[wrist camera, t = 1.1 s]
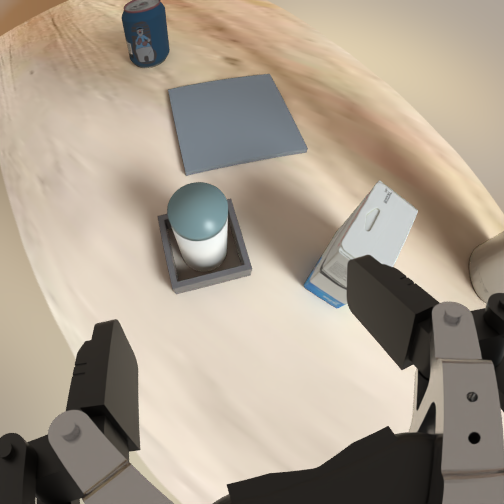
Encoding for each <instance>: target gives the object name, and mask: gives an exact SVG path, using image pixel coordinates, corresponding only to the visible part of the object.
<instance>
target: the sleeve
mask: <svg viewBox="0 0 504 504" xmlns="http://www.w3.org/2000/svg"><path fill="white" fill-rule="evenodd" d="M227 203H228V221H229V224H230V227H231V231H232V234H233V238H234V241H235V245H236V248H237V251H238V255H239V258H240V262H241V265H242V266H238V267H234V268H230V269H226V270H222V271H218V272H214V273H210V274H206V275H202V276H198V277H194V278H190V279H186V280H183V281H179V279H178V275H177V271H176V266H175V262H174V257H173V253H172V248H171V243H170V238H169V234H168V229H170V228H172V227H171V224H170V221H169V218H168V214H165V215H161V216H158V221H159V226H160V232H161V237H162V242H163V247H164V252H165V256H166V261H167V266H168V270H169V275H170V280H171V284H172V288H173V290H174V292H175V293H176V294H179V293H183V292H187V291H191V290H195V289H199V288H203V287H207V286H211V285H215V284H219V283H222V282H226V281H230V280H234V279H238V278H242V277H246V276H249V275H251V271H252V266H251V263H250V260H249V257H248V253H247V250H246V247H245V243H244V240H243V237H242V233H241V230H240V227H239V224H238V220H237V217H236V214H235V210H234V207H233V204H232V200H231V199H227Z"/></svg>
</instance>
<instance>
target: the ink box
mask: <svg viewBox="0 0 504 504" xmlns="http://www.w3.org/2000/svg"><path fill="white" fill-rule="evenodd" d="M417 212H418V210H417V209H416V208H415V207H413V206H412V205H411V204H410V203H408V202H407V201H406V200H405V199H403V198H402V197H401V196H400V195H398V194H397V193H396V192H394V191H393V190H392V189H390V188H389V187H388V186H386V185H385V184H383V183H382V182H381V181H380V180H379V181H378V182H377V183H376V184H375V186H374V187H373V188H372V190H371V191H370V192H369V193H368V194H367V196H366V197H365V198H364V199H363V201H362V202H361V203H360V204H359V206H358V207H357V208H356V209H355V210H354V212H353V213H352V214H351V215H350V216H349V218H348V219H347V220H346V221H345V222H344V224H343V225H342V226H341V227H340V228H339V229H338V231H337V232H336V233H335V235H334V237H333V238H332V240H331V242H330V243H329V245H328V247H327V248H326V250H325V252H324V253H323V255H322V256H321V258H320V260H319V261H318V263H317V264H316V266H315V268H314V269H313V271H312V272H311V274H310V276H309V277H308V279H307V280H306V282H305V284H304V287H305V288H306V289H307V290H309V291H310V292H312V293H313V294H315V295H316V296H318V297H320V298H321V299H323V300H324V301H326V302H327V303H329V304H330V305H332V306H334V307H335V308H340V307H341V306H343V305H345V304H347V264H348V261H349V260H351V259H354V258H358V257H361V256H364V255H371V256H372V257H374V258H375V259H376V260H377V261H379V262H380V263H381V264H386V265H388V266H391V267H393V266H394V264H395V262H396V260H397V258H398V255H399V253H400V251H401V249H402V247H403V245H404V243H405V240H406V238H407V236H408V234H409V231H410V229H411V227H412V225H413V222H414V220H415V217H416V215H417Z"/></svg>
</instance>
